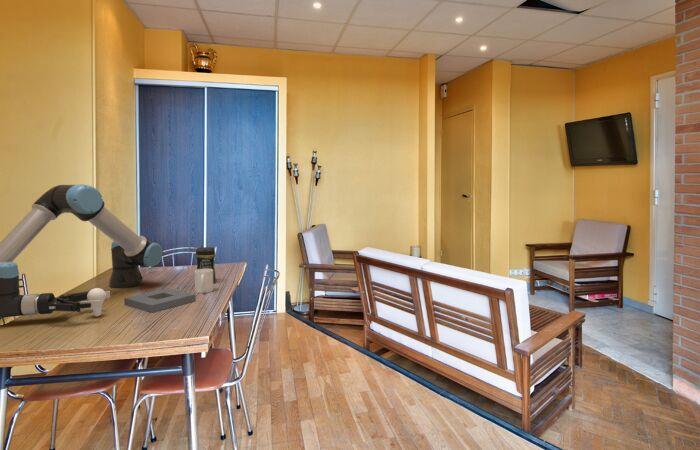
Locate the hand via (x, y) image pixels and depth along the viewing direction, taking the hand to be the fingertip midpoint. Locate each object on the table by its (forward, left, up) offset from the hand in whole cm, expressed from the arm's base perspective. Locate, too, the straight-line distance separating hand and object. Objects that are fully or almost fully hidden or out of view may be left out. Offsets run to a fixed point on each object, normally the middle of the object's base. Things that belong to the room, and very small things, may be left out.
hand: (106, 298), depth 155 cm
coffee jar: (-14, +57, -7) cm, 59 cm away
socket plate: (+1, +22, -7) cm, 23 cm away
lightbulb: (-2, -2, -7) cm, 7 cm away
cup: (+1, +44, -7) cm, 44 cm away
